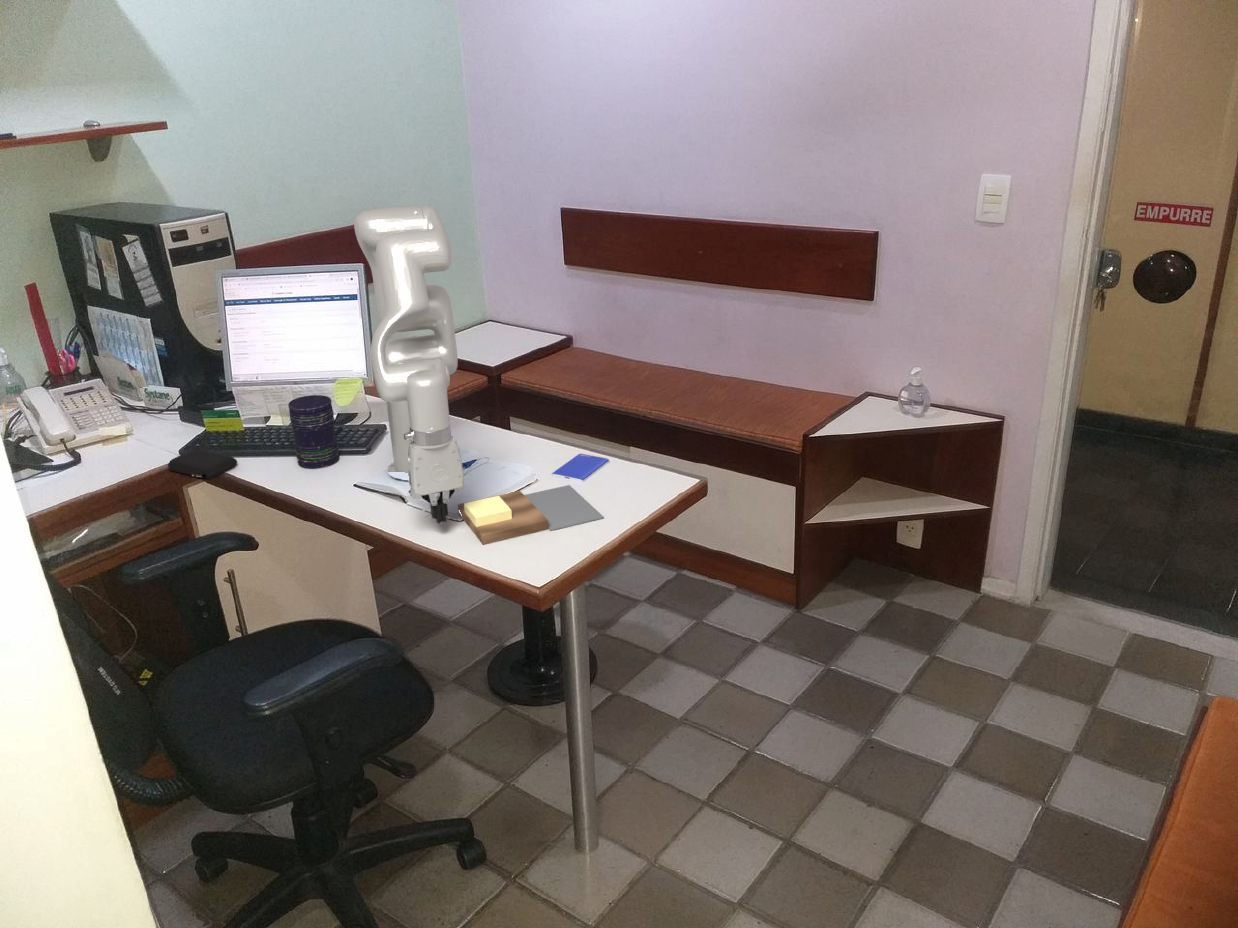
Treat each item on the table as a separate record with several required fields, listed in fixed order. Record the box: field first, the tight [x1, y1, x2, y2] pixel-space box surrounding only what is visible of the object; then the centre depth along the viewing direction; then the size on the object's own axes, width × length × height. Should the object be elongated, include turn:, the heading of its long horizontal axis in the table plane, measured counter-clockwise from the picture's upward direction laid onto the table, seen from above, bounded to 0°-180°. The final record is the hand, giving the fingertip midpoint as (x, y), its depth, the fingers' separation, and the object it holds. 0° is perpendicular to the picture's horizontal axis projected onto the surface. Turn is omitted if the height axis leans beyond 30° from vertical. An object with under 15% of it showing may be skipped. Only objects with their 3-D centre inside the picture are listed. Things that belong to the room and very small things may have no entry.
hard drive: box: [551, 453, 610, 484], centre depth 224 cm, size 2×8×12 cm
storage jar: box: [287, 394, 341, 470], centre depth 228 cm, size 10×10×15 cm
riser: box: [457, 490, 549, 545], centre depth 200 cm, size 16×14×2 cm
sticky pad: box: [463, 495, 512, 527], centre depth 198 cm, size 8×8×2 cm
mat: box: [524, 484, 605, 532], centre depth 206 cm, size 18×12×1 cm, turn 26°
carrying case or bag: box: [167, 448, 238, 480], centre depth 228 cm, size 11×3×15 cm
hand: (440, 519), depth 194 cm, fingers closed
